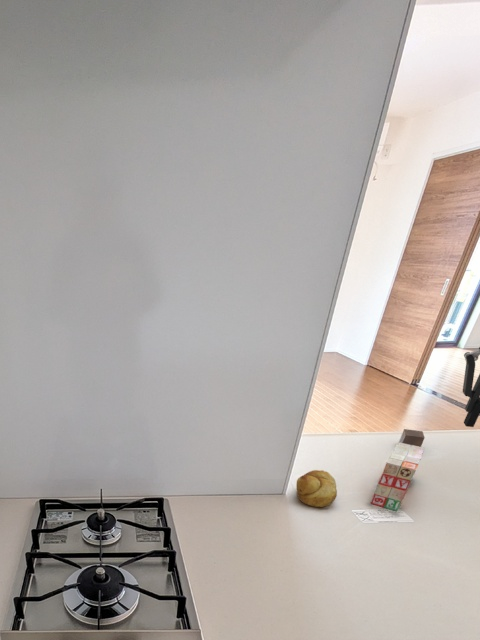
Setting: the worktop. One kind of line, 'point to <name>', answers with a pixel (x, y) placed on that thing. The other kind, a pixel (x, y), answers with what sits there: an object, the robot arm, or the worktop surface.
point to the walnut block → (412, 437)
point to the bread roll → (316, 488)
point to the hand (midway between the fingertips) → (468, 424)
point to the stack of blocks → (397, 476)
